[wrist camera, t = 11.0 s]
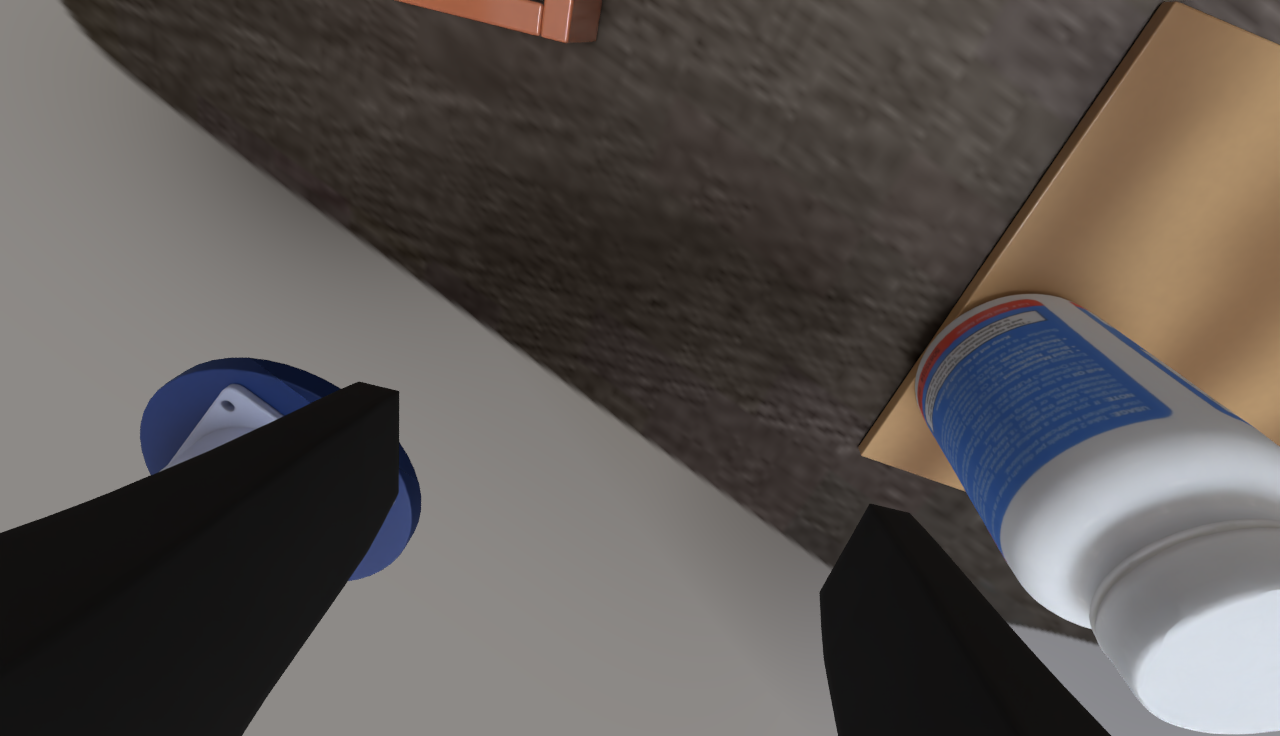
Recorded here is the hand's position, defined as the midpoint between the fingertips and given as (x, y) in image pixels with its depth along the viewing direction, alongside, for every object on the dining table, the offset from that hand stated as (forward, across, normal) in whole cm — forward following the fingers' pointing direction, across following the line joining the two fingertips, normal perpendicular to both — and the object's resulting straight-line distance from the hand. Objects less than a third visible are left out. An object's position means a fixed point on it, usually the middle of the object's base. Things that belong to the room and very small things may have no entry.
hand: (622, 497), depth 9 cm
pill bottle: (+10, -11, 0) cm, 15 cm away
